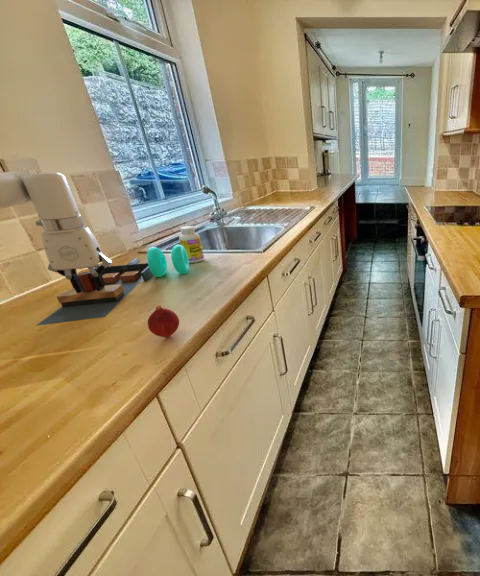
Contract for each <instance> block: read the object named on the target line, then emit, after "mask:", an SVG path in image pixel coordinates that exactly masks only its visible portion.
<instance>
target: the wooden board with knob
mask: <svg viewBox="0 0 480 576" xmlns="http://www.w3.org/2000/svg"><path fill="white" fill-rule="evenodd" d="M77 277H78V279H79V282H80V284H81V286H82V289H83V291H81V292H80V293H77V292H76V290H75V289H74V288H69V289H66V290H64V291H63V292H62V293H60V294H58V295H57V296H56V300H57V302H58V303H60V305H61V307H71V306H80V305H90V304H99V303H109V302H117V301H118V300H120V299H121V298H122V297H123V296H124V292H123V290H124V289H123V286H122V284H120V285H119V284H116V285H110V286H109V285H106V286H105V287H104V288H102V289H101V290H100V291H97V290H96V288H95V286H94V283H93V281H92V275H91V273H90V272H89V271H82V272H77Z"/></svg>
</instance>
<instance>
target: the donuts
mask: <svg viewBox="0 0 480 576" xmlns="http://www.w3.org/2000/svg"><path fill="white" fill-rule="evenodd" d="M170 256H171V263H172V265H173V268H174V270H175V271H176V272H177V273H179V274H182V275H185V274H187V273H188V272H189V271H190V263H189V260H188V255H187V252H186V250H185V248H184V247H183V246H182V245H181V244H175V245H174V246H173V247H172V249H171V252H170ZM146 261H147V263H148V265H149V268H150V271H151V272H152V276H154V277H156V278H162V277H163V276H165V274H166V273H167V271H168V263H167V258H166V255H165V253H164V252H163V250H162V249H161V248H159V247H157V246H152V247H149V248H148V249H147V252H146Z"/></svg>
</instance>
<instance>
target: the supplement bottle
mask: <svg viewBox="0 0 480 576" xmlns="http://www.w3.org/2000/svg"><path fill="white" fill-rule="evenodd" d="M179 231H180V233H181V234H179V236H178V240H179V245H182V246H183V247H184V248H185V250H186V252H187V255H188V260H189V264H195V263H199V262H202V261H204V260H205V255H204V250H203V245H202V241H201V237H200V235H199V233H197V232H196V228H195V226H193V225H186V226H185V225H184V226H181V227H179Z"/></svg>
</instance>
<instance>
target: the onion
mask: <svg viewBox="0 0 480 576" xmlns="http://www.w3.org/2000/svg"><path fill="white" fill-rule="evenodd" d="M179 325H180V319H179V317H178V315H177V314H176V313H175V311H173V310H171V309H169V308H165V307H162V305H161V304H157V305H156V306H155V310H154V311H153V312H152V313H150V315H149V316H148V318H147V327H148V330H149V331H150V332H151V333H152V334H153V335H155V336H157V337H161V338H171V336H172V335H174V334H175V333H176V332H177V330H178V328H179Z"/></svg>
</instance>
